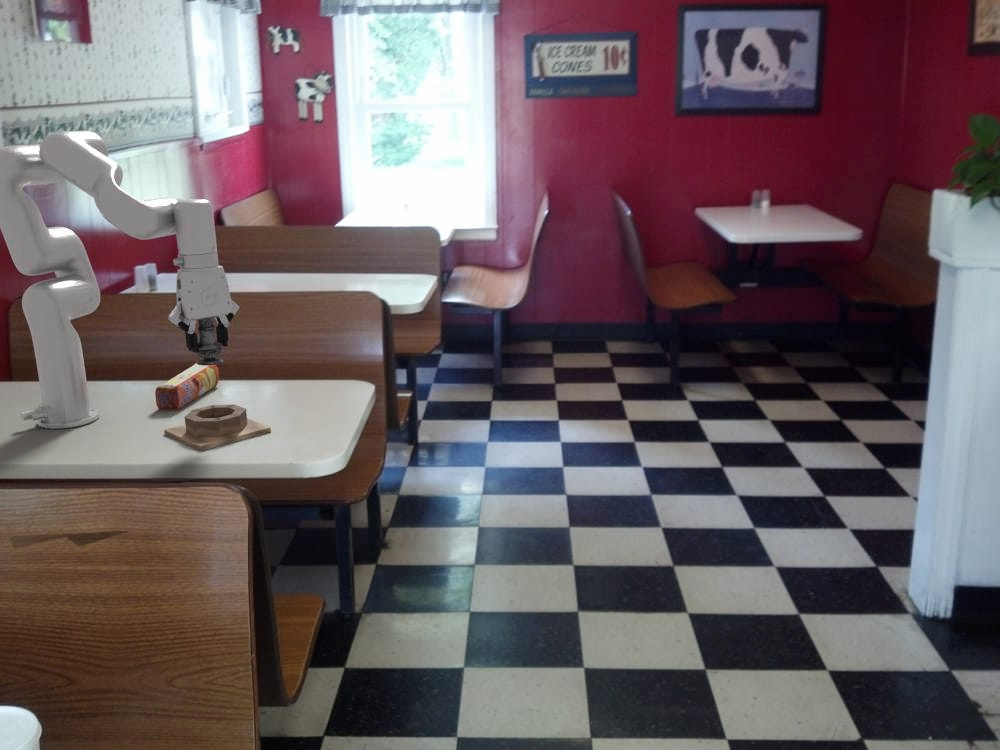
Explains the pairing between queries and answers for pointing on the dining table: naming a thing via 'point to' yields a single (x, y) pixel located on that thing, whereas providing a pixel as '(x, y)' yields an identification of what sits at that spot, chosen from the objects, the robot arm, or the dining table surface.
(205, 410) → the collar
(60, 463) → the dining table surface
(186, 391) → the snack package
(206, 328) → the grey upright turned piece
